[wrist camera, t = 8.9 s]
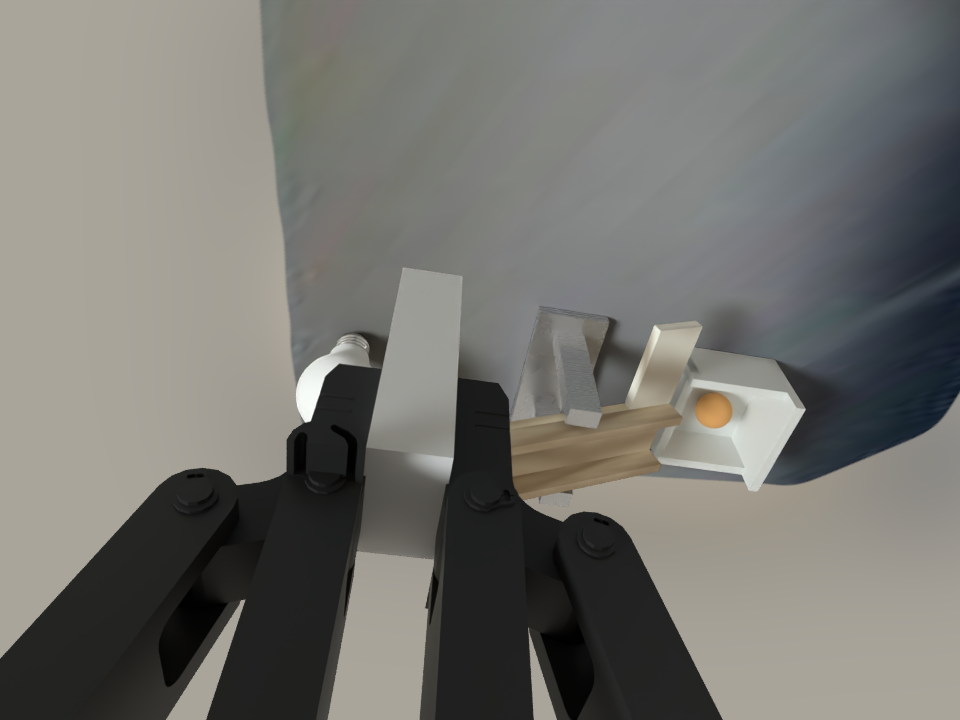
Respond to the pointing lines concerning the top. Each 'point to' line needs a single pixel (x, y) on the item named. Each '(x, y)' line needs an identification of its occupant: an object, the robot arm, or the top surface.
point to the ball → (713, 410)
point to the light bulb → (310, 383)
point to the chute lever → (606, 426)
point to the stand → (561, 374)
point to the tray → (752, 428)
